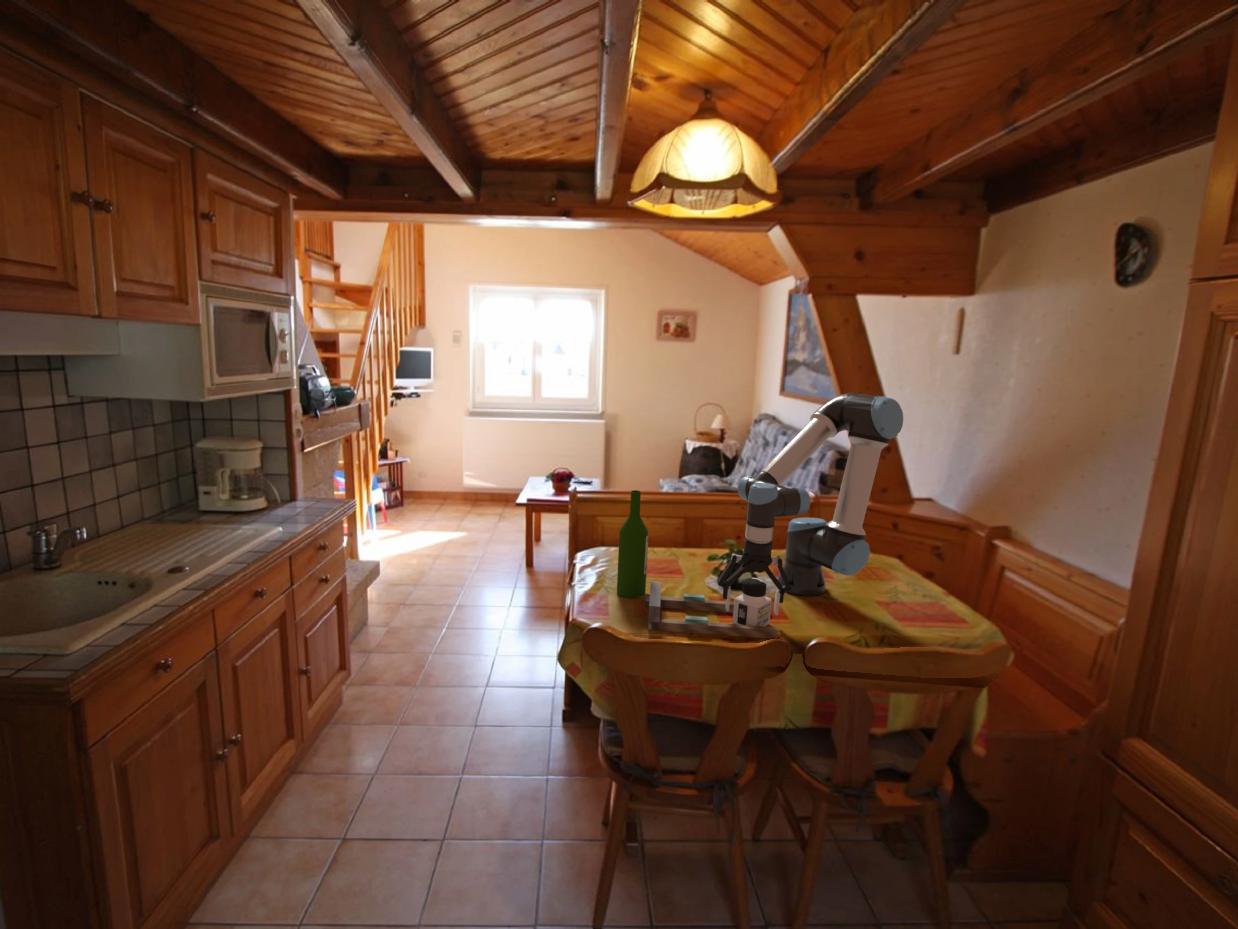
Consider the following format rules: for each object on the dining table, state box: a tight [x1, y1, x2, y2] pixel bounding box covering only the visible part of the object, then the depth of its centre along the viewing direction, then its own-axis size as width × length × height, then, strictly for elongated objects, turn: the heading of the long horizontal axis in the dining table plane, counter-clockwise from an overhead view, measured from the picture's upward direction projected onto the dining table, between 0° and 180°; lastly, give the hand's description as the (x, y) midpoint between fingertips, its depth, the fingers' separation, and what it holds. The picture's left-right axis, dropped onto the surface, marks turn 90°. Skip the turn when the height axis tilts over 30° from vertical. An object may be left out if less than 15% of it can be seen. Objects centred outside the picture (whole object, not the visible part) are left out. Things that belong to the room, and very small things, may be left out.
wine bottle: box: [616, 490, 649, 599], centre depth 193 cm, size 9×9×32 cm
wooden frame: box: [644, 581, 779, 640], centre depth 179 cm, size 36×17×7 cm, turn 86°
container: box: [732, 577, 772, 627], centre depth 177 cm, size 8×8×13 cm
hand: (751, 611), depth 178 cm, fingers open, 13 cm apart
